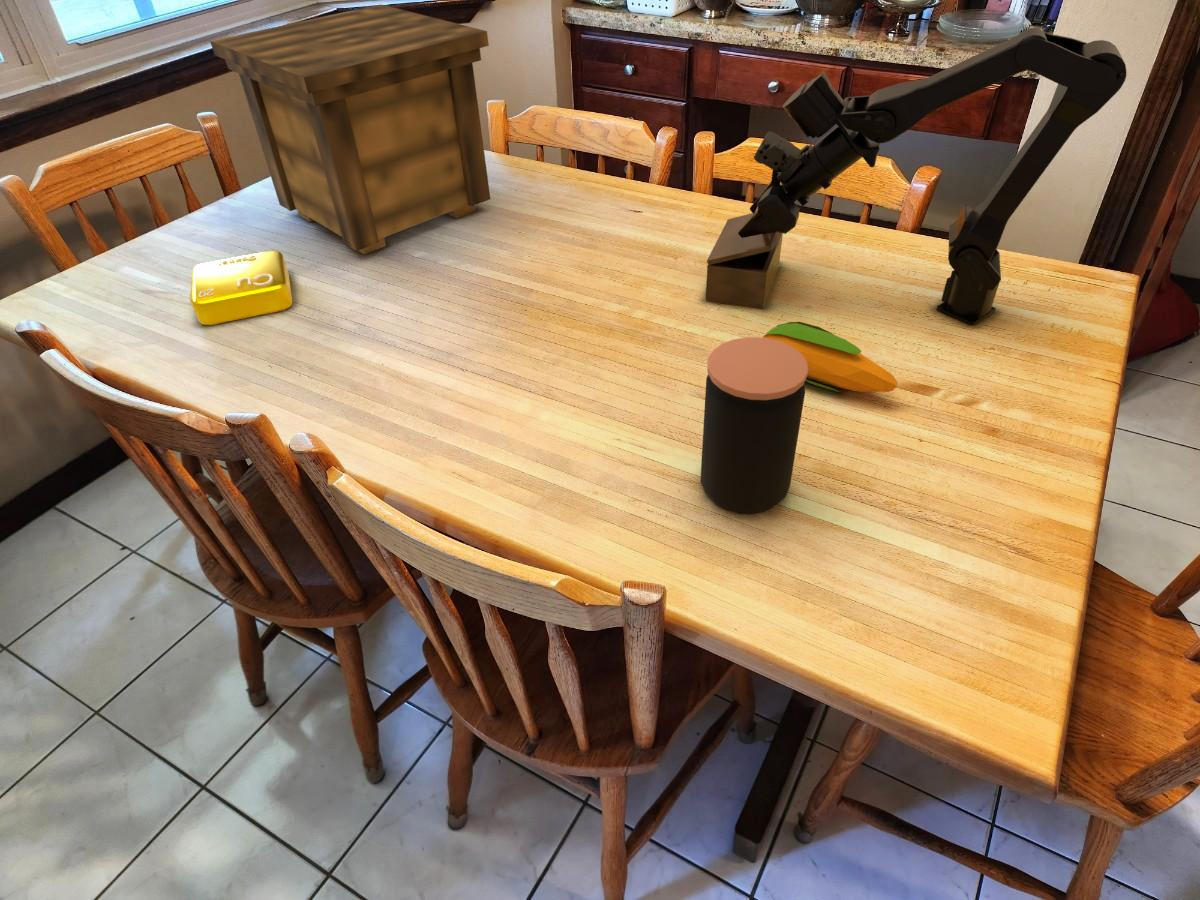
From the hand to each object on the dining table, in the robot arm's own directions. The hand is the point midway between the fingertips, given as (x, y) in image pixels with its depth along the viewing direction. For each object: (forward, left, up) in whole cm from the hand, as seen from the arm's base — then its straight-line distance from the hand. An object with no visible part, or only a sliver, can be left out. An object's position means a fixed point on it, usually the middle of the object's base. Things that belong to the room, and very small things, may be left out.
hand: (745, 222), depth 127 cm
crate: (+67, +33, -11) cm, 76 cm away
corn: (-28, +11, -11) cm, 32 cm away
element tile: (+52, +67, -11) cm, 85 cm away
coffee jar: (-36, +36, -11) cm, 52 cm away
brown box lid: (-1, 0, -2) cm, 2 cm away
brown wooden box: (0, 0, -11) cm, 11 cm away
